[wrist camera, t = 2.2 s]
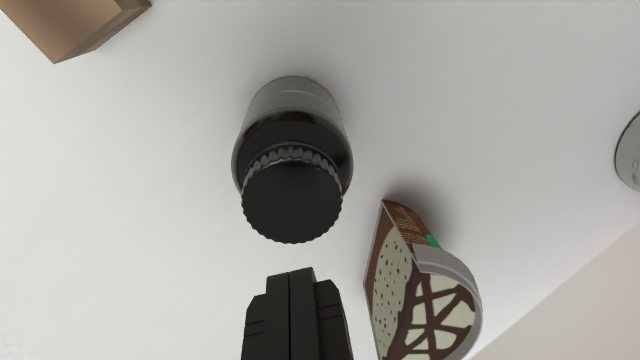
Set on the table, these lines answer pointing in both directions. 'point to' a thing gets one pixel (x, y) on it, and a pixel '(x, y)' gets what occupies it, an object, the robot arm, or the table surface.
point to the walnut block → (71, 23)
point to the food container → (418, 292)
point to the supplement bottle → (292, 161)
